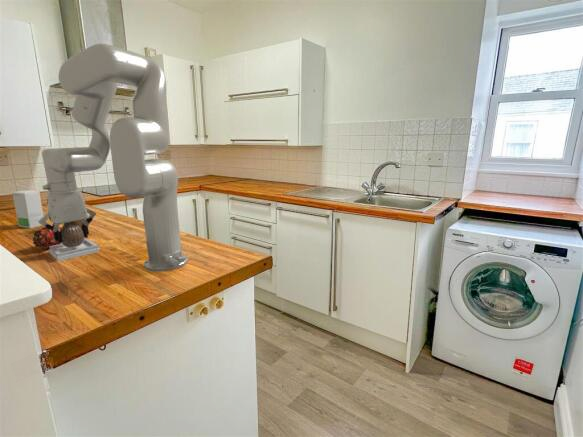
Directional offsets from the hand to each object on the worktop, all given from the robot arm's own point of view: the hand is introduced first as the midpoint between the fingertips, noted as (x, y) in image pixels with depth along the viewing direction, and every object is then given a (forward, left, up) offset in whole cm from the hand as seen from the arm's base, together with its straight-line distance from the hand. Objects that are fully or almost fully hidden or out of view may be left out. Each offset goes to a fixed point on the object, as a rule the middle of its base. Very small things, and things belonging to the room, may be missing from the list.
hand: (72, 239), depth 108 cm
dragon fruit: (+12, +4, -5) cm, 14 cm away
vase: (0, 0, -3) cm, 3 cm away
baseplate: (0, 0, -5) cm, 5 cm away
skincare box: (+55, +3, -5) cm, 55 cm away
